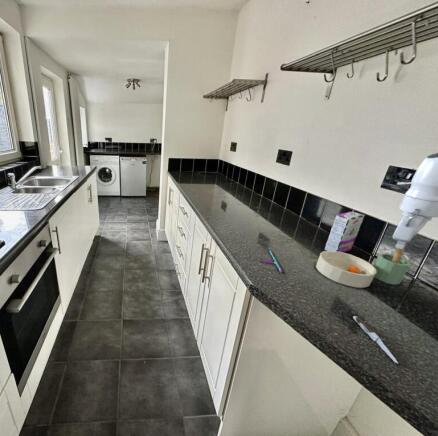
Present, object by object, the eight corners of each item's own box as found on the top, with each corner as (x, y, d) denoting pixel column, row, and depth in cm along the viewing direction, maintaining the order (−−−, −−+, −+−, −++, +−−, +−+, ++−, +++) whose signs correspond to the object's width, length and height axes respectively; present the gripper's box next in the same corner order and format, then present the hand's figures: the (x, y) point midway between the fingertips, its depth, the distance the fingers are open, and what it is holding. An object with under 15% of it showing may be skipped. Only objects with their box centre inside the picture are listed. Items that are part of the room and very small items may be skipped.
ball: (348, 273, 79) (361, 274, 77) (347, 264, 80) (359, 265, 79) (348, 276, 81) (360, 277, 80) (346, 267, 83) (358, 268, 81)
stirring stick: (395, 275, 79) (411, 225, 73) (395, 277, 77) (412, 227, 72) (387, 273, 80) (403, 224, 75) (387, 275, 79) (403, 225, 73)
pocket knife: (351, 318, 63) (353, 313, 62) (354, 319, 63) (357, 313, 62) (394, 366, 50) (398, 360, 50) (398, 367, 50) (402, 361, 49)
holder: (402, 280, 80) (412, 261, 76) (396, 288, 76) (407, 268, 72) (373, 269, 85) (382, 251, 82) (366, 276, 81) (375, 256, 78)
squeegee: (257, 248, 95) (270, 250, 94) (257, 250, 96) (270, 252, 95) (267, 269, 81) (282, 271, 80) (266, 271, 82) (281, 273, 81)
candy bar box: (338, 245, 102) (351, 211, 96) (351, 250, 98) (366, 215, 92) (322, 250, 98) (335, 214, 92) (335, 256, 94) (350, 218, 88)
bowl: (375, 279, 80) (382, 266, 78) (360, 295, 72) (367, 281, 70) (325, 259, 91) (330, 247, 89) (307, 270, 83) (312, 257, 81)
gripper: (430, 216, 62) (406, 260, 68) (441, 204, 73) (420, 243, 79) (398, 209, 67) (378, 250, 73) (413, 199, 78) (395, 235, 83)
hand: (400, 246), depth 76 cm, fingers closed on stirring stick, 2 cm apart
